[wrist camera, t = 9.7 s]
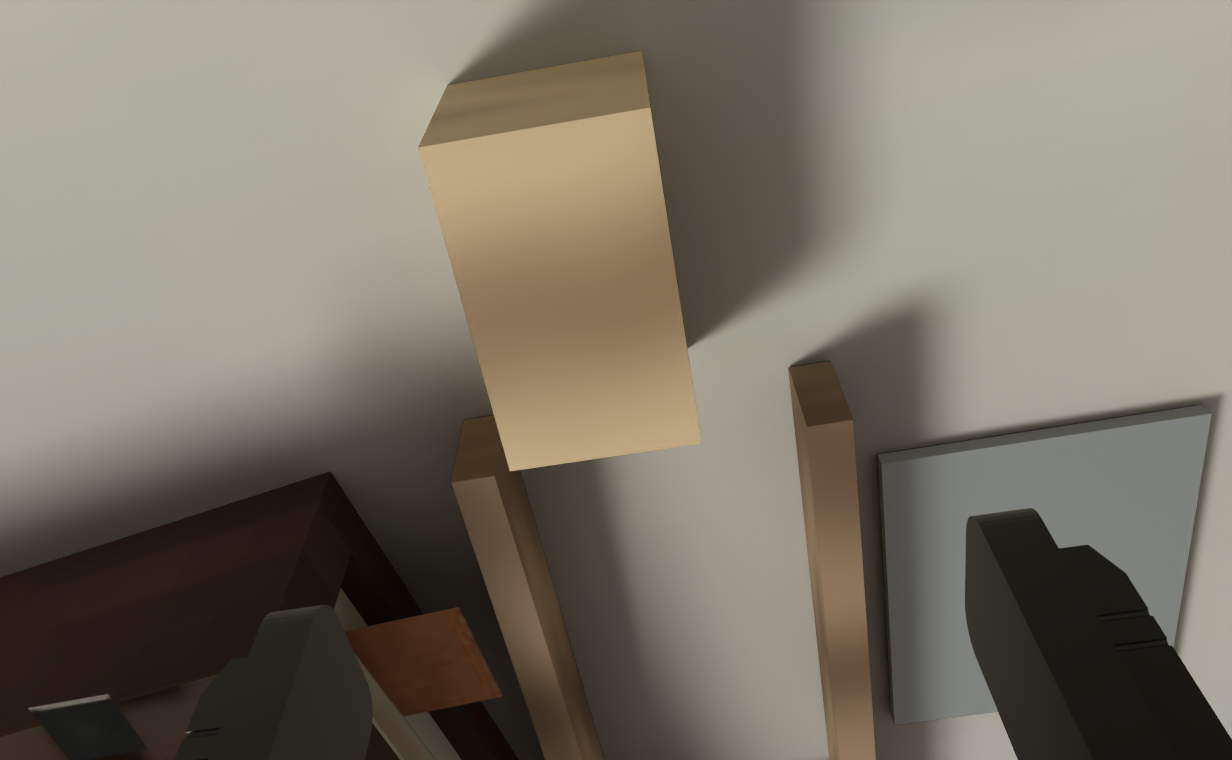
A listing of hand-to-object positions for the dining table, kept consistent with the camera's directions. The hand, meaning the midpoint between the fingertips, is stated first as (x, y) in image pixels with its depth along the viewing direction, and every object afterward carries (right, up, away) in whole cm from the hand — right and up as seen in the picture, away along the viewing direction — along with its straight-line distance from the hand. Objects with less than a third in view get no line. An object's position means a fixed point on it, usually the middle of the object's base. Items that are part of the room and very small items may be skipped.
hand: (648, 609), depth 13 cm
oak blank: (-1, +6, +9) cm, 11 cm away
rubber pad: (+11, -3, +15) cm, 19 cm away
